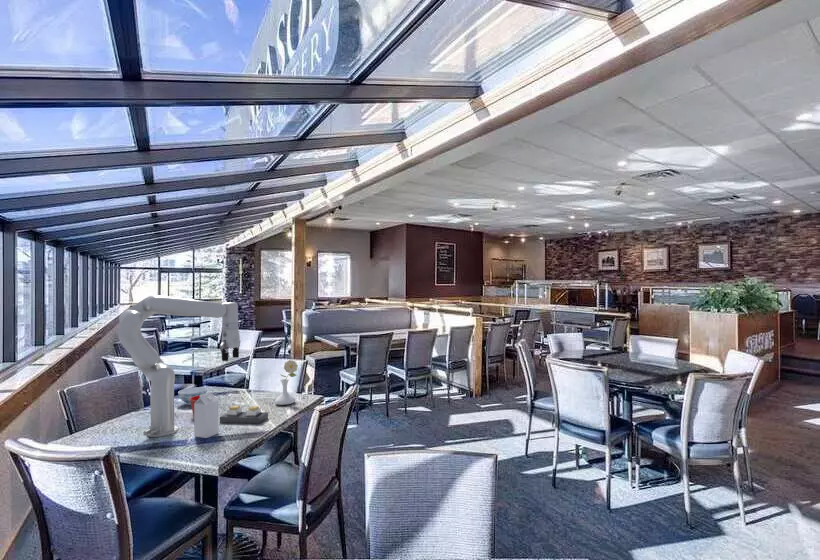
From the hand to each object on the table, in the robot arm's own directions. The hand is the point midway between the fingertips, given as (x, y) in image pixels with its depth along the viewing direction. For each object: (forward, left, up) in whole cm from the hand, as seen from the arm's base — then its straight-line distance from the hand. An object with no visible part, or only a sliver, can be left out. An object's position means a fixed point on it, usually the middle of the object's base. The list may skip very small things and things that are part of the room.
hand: (230, 359), depth 218 cm
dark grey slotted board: (-4, -10, -30) cm, 32 cm away
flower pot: (+2, +18, -31) cm, 35 cm away
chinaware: (+23, +38, -31) cm, 54 cm away
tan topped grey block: (-4, -4, -30) cm, 31 cm away
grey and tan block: (-4, -15, -30) cm, 34 cm away
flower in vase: (+27, -18, -31) cm, 45 cm away
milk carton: (-25, -3, -31) cm, 40 cm away
